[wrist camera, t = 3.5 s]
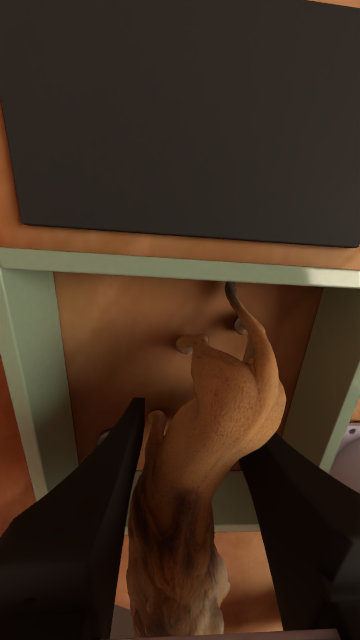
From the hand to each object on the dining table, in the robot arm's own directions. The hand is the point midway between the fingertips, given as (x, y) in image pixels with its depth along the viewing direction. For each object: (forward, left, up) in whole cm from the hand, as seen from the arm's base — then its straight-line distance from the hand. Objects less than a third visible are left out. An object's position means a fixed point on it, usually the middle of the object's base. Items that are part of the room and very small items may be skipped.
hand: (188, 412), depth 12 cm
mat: (0, -15, -2) cm, 15 cm away
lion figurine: (-1, 0, -2) cm, 2 cm away
